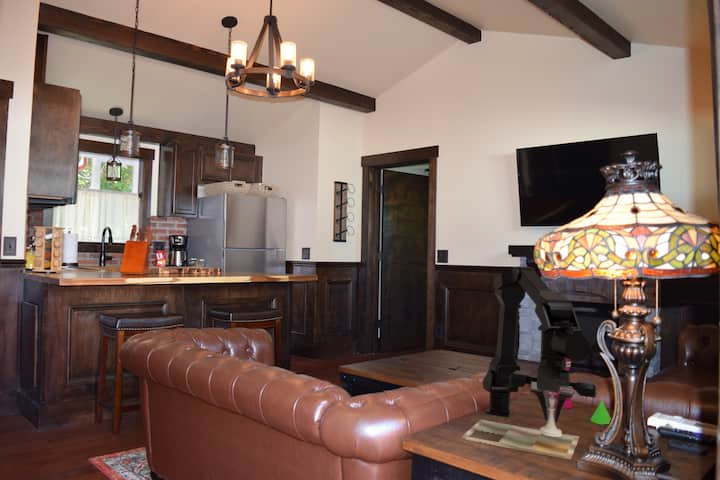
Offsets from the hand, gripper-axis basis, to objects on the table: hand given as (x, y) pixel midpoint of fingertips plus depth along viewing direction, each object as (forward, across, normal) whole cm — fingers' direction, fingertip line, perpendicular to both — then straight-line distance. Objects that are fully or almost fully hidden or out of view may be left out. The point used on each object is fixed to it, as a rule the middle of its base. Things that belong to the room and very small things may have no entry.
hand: (551, 420), depth 127 cm
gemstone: (+7, +9, +32) cm, 34 cm away
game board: (+6, -7, +4) cm, 10 cm away
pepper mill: (+7, -3, +43) cm, 44 cm away
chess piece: (+3, 0, 0) cm, 3 cm away
